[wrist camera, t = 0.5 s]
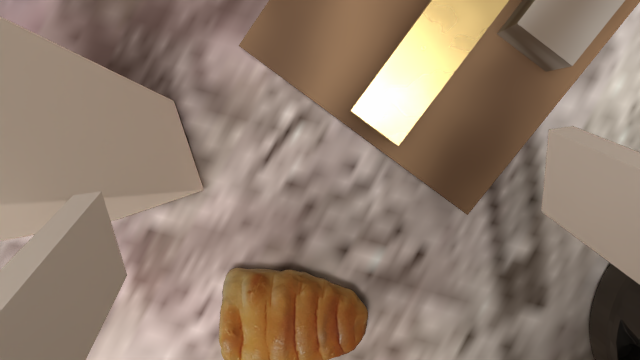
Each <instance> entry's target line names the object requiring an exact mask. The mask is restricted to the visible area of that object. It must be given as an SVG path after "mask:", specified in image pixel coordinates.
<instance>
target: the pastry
mask: <svg viewBox="0 0 640 360" xmlns="http://www.w3.org/2000/svg"><path fill="white" fill-rule="evenodd" d="M222 293H223V299H222V306H221V311H220V324H219V343H220V346H221V353H222V356H223V358H224V360H328V359H331V358H334V357H338V356H340V355H343V354H347V353H349V352H350V351H352V350H354V349H355V348H356V346H357V345H358V344H359V342H360V341H361V340H362V338H363V336H364V334H365V331H366V326H367V319H368V311H367V308H366V307H365V305H364V304H363V303H362V302H361V300H360V299H359V298H358V296H357V295H356V294H355V293H354V292H353V291H352V290H351V289H348V288H344V287H341V286H340V285H336V284H332V283H330V282H329V281H327V280H326V279H323V278H317V277H314V276H312V275H310V274H308V273H307V272H298V271H295V270H284V271H277V270H272V269H244V268H234V269H232V270H230V271H229V273H228V274H227V275H226V278H225V281H224V285H223V291H222Z"/></svg>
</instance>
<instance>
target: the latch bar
mask: <svg viewBox="0 0 640 360" xmlns="http://www.w3.org/2000/svg"><path fill="white" fill-rule="evenodd" d="M508 1H509V0H430V2H429V3H428V4H427V6H426V7H425V8H424V10H423V11H422V12H421V14H420V15H419V17H418V18H417V19H416V21H415V22H414V23H413V25H412V26H411V27H410V29H409V30H408V32H407V33H406V34H405V36H404V37H403V38H402V40H401V41H400V43H399V44H398V45H397V47H396V48H395V49H394V51H393V52H392V53H391V55H390V56H389V58H388V59H387V60H386V62H385V63H384V64H383V66H382V67H381V68H380V70H379V71H378V73H377V74H376V75H375V77H374V78H373V79H372V81H371V82H370V83H369V85H368V86H367V88H366V89H365V90H364V92H363V93H362V94H361V96H360V97H359V98H358V100H357V101H356V103H355V104H354V105H353V107H352V108H351V109H350V111H349V112H351V113H352V114H353V115H355V116H356V117H357V118H359V119H360V120H361V121H363V122H364V123H365V124H367V125H368V126H369V127H371V128H372V129H374V130H375V131H376V132H378V133H379V134H380V135H382V136H383V137H384V138H386V139H387V140H388V141H390V142H392V143H394V144H396V145H397V146H399V144H400V143H401V142H402V141H403V139H404V138H405V137H406V135H407V134H408V133H409V131H410V130H411V129H412V127H413V126H414V125H415V123H416V122H417V121H418V119H419V118H420V117H421V116H422V114H423V113H424V112H425V110H426V109H427V108H428V106H429V105H430V104H431V102H432V101H433V100H434V98H435V97H436V96H437V95H438V93H439V92H440V91H441V89H442V88H443V87H444V85H445V84H446V83H447V81H448V80H449V79H450V77H451V76H452V75H453V73H454V72H455V71H456V70H457V68H458V67H459V66H460V64H461V63H462V62H463V60H464V59H465V58H466V56H467V55H468V54H469V52H470V51H471V50H472V49H473V47H474V46H475V45H476V43H477V42H478V41H479V39H480V38H481V37H482V35H483V34H484V33H485V31H486V30H487V29H488V27H489V26H490V25H491V24H492V22H493V21H494V20H495V18H496V17H497V16H498V14H499V13H500V12H501V10H502V9H503V8H504V6H505V5H506V4H507V3H508Z"/></svg>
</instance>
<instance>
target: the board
mask: <svg viewBox="0 0 640 360" xmlns="http://www.w3.org/2000/svg"><path fill="white" fill-rule="evenodd" d="M429 2H430V0H269V2H268V3H267V5H266V6H265V8H264V9H263V10H262V12H261V13H260V15H259V16H258V18H257V19H256V21H255V22H254V24H253V25H252V27H251V28H250V30H249V31H248V33H247V34H246V36H245V37H244V39H243V40H242V42H241V43H240V45H239V46H240V47H241V48H243V49H244V50H245V51H247V52H248V53H249V54H251V55H252V56H254V57H255V58H256V59H258V60H259V61H260V62H262V63H263V64H264V65H266V66H267V67H268V68H270V69H271V70H272V71H274V72H275V73H276V74H278V75H279V76H281V77H282V78H283V79H285V80H286V81H287V82H289V83H290V84H291V85H293V86H294V87H295V88H297V89H298V90H299V91H301V92H302V93H303V94H305V95H306V96H308V97H309V98H310V99H312V100H313V101H314V102H316V103H317V104H318V105H320V106H321V107H322V108H324V109H325V110H326V111H328V112H329V113H331V114H332V115H333V116H335V117H336V118H337V119H339V120H340V121H341V122H343V123H344V124H345V125H347V126H348V127H349V128H351V129H352V130H353V131H355V132H356V133H358V134H359V135H360V136H362V137H363V138H364V139H366V140H367V141H368V142H370V143H371V144H372V145H374V146H375V147H376V148H378V149H379V150H381V151H382V152H383V153H385V154H386V155H387V156H389V157H390V158H391V159H393V160H394V161H395V162H397V163H398V164H399V165H401V166H402V167H403V168H405V169H406V170H408V171H409V172H410V173H412V174H413V175H414V176H416V177H417V178H418V179H420V180H421V181H422V182H424V183H425V184H426V185H428V186H429V187H430V188H432V189H433V190H435V191H436V192H437V193H439V194H440V195H441V196H443V197H444V198H445V199H447V200H448V201H449V202H451V203H452V204H453V205H455V206H456V207H458V208H459V209H460V210H462V211H463V212H464V213H466V214H467V215H468V214H469V212H470V211H471V210H472V209H473V207H474V206H475V205H476V204H477V202H478V201H479V200H480V199H481V197H482V196H483V195H484V194H485V193H486V191H487V190H488V189H489V188H490V186H491V185H492V184H493V183H494V181H495V180H496V179H497V178H498V176H499V175H500V174H501V173H502V171H503V170H504V169H505V168H506V167H507V165H508V164H509V163H510V162H511V160H512V159H513V158H514V157H515V155H516V154H517V153H518V152H519V150H520V149H521V148H522V147H523V145H524V144H525V143H526V142H527V141H528V139H529V138H530V137H531V136H532V134H533V133H534V132H535V131H536V129H537V128H538V127H539V126H540V124H541V123H542V122H543V121H544V119H545V118H546V117H547V116H548V115H549V113H550V112H551V111H552V110H553V108H554V107H555V106H556V105H557V103H558V102H559V101H560V100H561V98H562V97H563V96H564V95H565V93H566V92H567V91H568V90H569V89H570V87H571V86H572V85H573V84H574V82H575V81H576V80H577V79H578V77H579V76H580V75H581V74H582V72H583V71H584V70H585V69H586V67H587V66H588V65H589V64H590V63H591V61H592V60H593V59H594V58H595V56H596V55H597V54H598V53H599V51H600V50H601V49H602V48H603V46H604V45H605V44H606V43H607V41H608V40H609V39H610V38H611V37H612V35H613V34H614V33H615V32H616V30H617V29H618V28H619V27H620V25H621V24H622V23H623V22H624V20H625V19H626V18H627V17H628V15H629V14H630V13H631V12H632V11H633V9H634V8H635V7H636V6H637V4H638V3H639V2H640V0H509V1H508V3H507V4H506V5H505V6H504V8H503V9H502V10H501V12H500V13H499V14H498V16H497V17H496V18H495V20H494V21H493V22H492V24H491V25H490V26H489V27H488V29H487V30H486V31H485V33H484V34H483V35H482V37H481V38H480V39H479V41H478V42H477V43H476V45H475V46H474V47H473V49H472V50H471V51H470V52H469V54H468V55H467V56H466V58H465V59H464V60H463V62H462V63H461V64H460V66H459V67H458V68H457V70H456V71H455V72H454V73H453V75H452V76H451V77H450V79H449V80H448V81H447V83H446V84H445V85H444V87H443V88H442V89H441V91H440V92H439V93H438V95H437V96H436V97H435V98H434V100H433V101H432V102H431V104H430V105H429V106H428V108H427V109H426V110H425V112H424V113H423V114H422V116H421V117H420V118H419V119H418V121H417V122H416V123H415V125H414V126H413V127H412V129H411V130H410V131H409V133H408V134H407V135H406V137H405V138H404V139H403V141H402V142H401V143H400V144H399V146H397V145H396V144H394V143H392V142H390V141H388V140H387V139H386V138H384V137H383V136H382V135H380V134H379V133H378V132H376V131H375V130H374V129H372V128H371V127H369V126H368V125H367V124H365V123H364V122H363V121H361V120H360V119H359V118H357V117H356V116H355V115H353V114H352V113H351V112H349V111H350V109H351V108H352V107H353V105H354V104H355V103H356V101H357V100H358V98H359V97H360V96H361V94H362V93H363V92H364V90H365V89H366V88H367V86H368V85H369V83H370V82H371V81H372V79H373V78H374V77H375V75H376V74H377V73H378V71H379V70H380V68H381V67H382V66H383V64H384V63H385V62H386V60H387V59H388V58H389V56H390V55H391V53H392V52H393V51H394V49H395V48H396V47H397V45H398V44H399V43H400V41H401V40H402V38H403V37H404V36H405V34H406V33H407V32H408V30H409V29H410V27H411V26H412V25H413V23H414V22H415V21H416V19H417V18H418V17H419V15H420V14H421V12H422V11H423V10H424V8H425V7H426V6H427V4H428V3H429Z"/></svg>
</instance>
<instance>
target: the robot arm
mask: <svg viewBox="0 0 640 360" xmlns="http://www.w3.org/2000/svg"><path fill="white" fill-rule="evenodd" d="M542 213H544V214H545V215H546V216H548V217H549V218H550V219H552V220H553V221H555V222H556V223H557V224H559V225H560V226H561V227H563V228H564V229H565V230H567V231H568V232H569V233H571V234H572V235H573V236H575V237H576V238H577V239H579V240H580V241H581V242H583V243H584V244H586V245H587V246H588V247H590V248H591V249H592V250H594V251H595V252H596V253H598V254H599V255H600V256H602V257H603V258H604V259H606V260H607V261H608V262H610V263H611V265H610V266H609V267H608V269H607V271H606V272H605V274H604V276H603V278H602V280H601V282H600V284H599V286H598V289H597V291H596V294H595V297H594V301H593V305H592V310H591V316H590V341H591V347H592V351H593V355H594V358H595V360H640V152H637V151H635V150H632V149H629V148H627V147H624V146H622V145H619V144H617V143H614V142H612V141H609V140H607V139H604V138H601V137H599V136H596V135H594V134H591V133H589V132H586V131H584V130H581V129H579V128H576V127H574V126H571V127H564V128H557V129H549V133H548V144H547V156H546V167H545V178H544V190H543V201H542ZM126 276H127V273H126V270H125V266H124V263H123V260H122V257H121V253H120V250H119V247H118V243H117V240H116V237H115V234H114V230H113V227H112V224H111V221H110V217H109V214H108V211H107V208H106V204H105V201H104V198H103V195H102V191H100V192H93V193H86V194H78V195H73V196H72V197H71V198H70V199H69V200H68V201H67V202H66V203H65V204H64V205H63V206H62V207H61V208H60V209H59V210H58V211H57V212H56V213H55V214H54V215H53V216H52V218H51V219H50V220H49V221H48V222H47V223H46V224H45V225H44V226H43V227H42V228H41V229H40V230H39V231H38V232H37V233H36V234H35V235H34V236H33V237H32V238H31V239H30V240H29V241H28V242H27V243H26V244H25V245H24V246H23V247H22V248H21V249H20V250H19V251H18V252H17V253H16V254H15V255H14V256H13V258H12V259H11V260H10V261H9V262H8V263H7V264H6V265H5V266H4V267H3V268H2V269H1V270H0V360H86V358H87V356H88V354H89V352H90V350H91V348H92V346H93V344H94V342H95V340H96V338H97V336H98V334H99V331H100V329H101V327H102V325H103V323H104V321H105V319H106V317H107V315H108V313H109V311H110V309H111V307H112V305H113V303H114V301H115V299H116V297H117V295H118V293H119V291H120V289H121V287H122V285H123V282H124V280H125V278H126Z"/></svg>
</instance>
